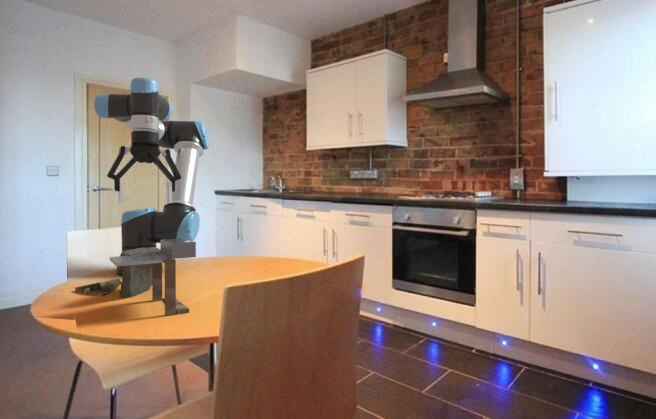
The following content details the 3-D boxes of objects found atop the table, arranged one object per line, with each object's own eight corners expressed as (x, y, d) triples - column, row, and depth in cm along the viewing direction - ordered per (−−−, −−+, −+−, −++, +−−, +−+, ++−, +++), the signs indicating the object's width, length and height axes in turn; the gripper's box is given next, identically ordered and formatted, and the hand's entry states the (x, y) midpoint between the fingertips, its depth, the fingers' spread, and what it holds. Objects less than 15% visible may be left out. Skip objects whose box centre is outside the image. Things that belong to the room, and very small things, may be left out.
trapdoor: (109, 260, 106) (109, 241, 106) (182, 255, 117) (182, 238, 117) (116, 266, 95) (116, 246, 95) (195, 260, 106) (195, 241, 106)
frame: (152, 302, 114) (152, 253, 114) (173, 300, 117) (173, 252, 117) (165, 316, 100) (165, 260, 100) (189, 312, 104) (188, 258, 103)
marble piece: (130, 254, 112) (117, 250, 113) (121, 304, 113) (109, 301, 114) (166, 246, 128) (154, 243, 129) (158, 290, 129) (146, 287, 130)
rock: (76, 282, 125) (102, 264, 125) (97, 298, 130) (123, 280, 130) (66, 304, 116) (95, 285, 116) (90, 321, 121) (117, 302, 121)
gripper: (99, 125, 110) (100, 203, 110) (191, 134, 125) (191, 202, 125) (95, 129, 116) (96, 202, 116) (183, 137, 131) (184, 202, 131)
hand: (146, 202), depth 121 cm, fingers open, 13 cm apart
